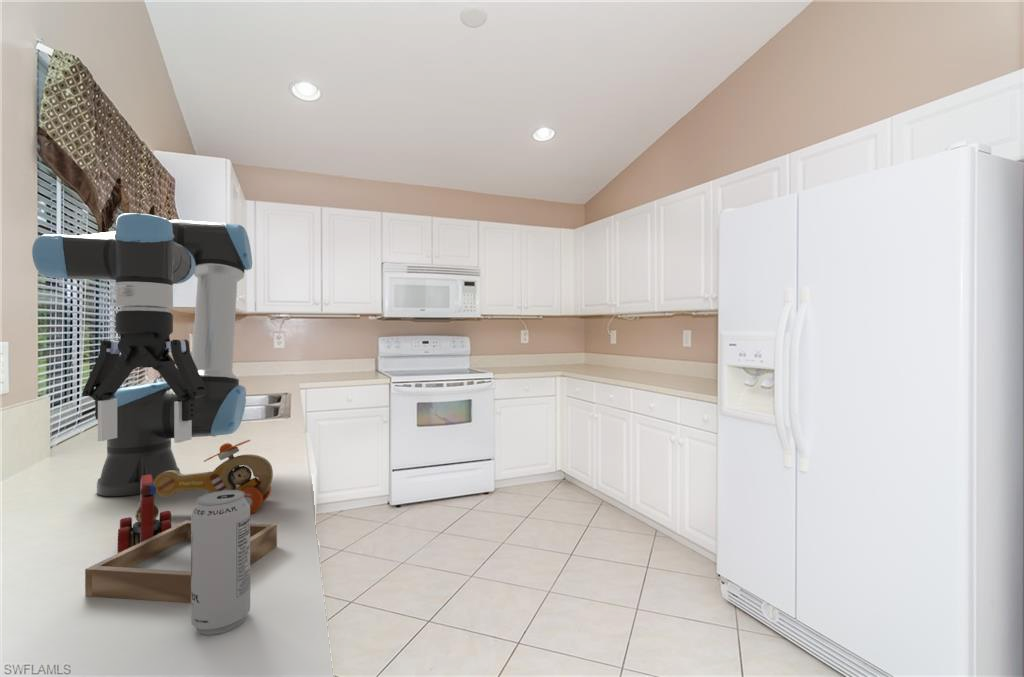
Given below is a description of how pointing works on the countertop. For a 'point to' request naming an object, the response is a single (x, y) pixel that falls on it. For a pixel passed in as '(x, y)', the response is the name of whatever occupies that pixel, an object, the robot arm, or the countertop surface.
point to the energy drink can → (220, 561)
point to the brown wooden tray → (161, 565)
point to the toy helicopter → (224, 477)
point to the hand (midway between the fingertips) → (145, 440)
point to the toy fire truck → (143, 518)
